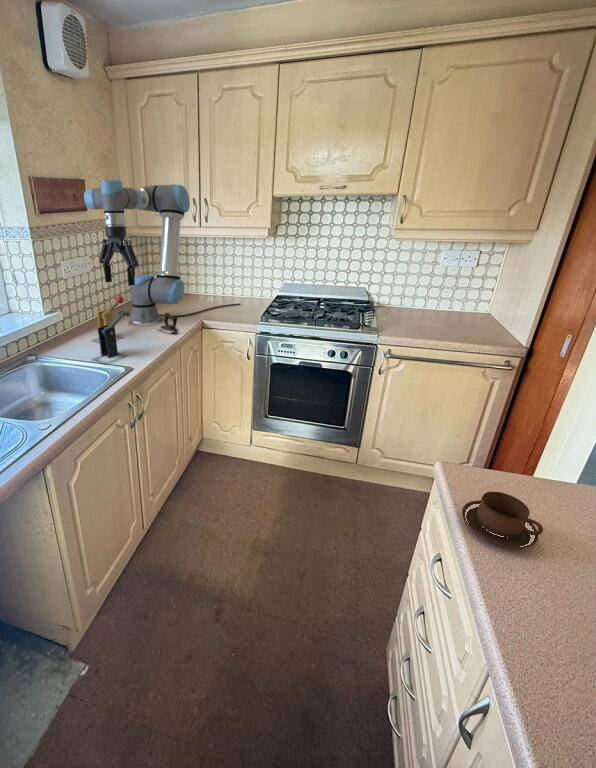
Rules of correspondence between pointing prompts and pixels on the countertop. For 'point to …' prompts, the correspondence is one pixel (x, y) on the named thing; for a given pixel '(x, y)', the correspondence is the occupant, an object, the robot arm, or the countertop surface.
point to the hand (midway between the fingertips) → (119, 283)
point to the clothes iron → (170, 327)
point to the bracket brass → (105, 318)
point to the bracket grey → (108, 341)
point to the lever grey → (116, 320)
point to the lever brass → (119, 300)
